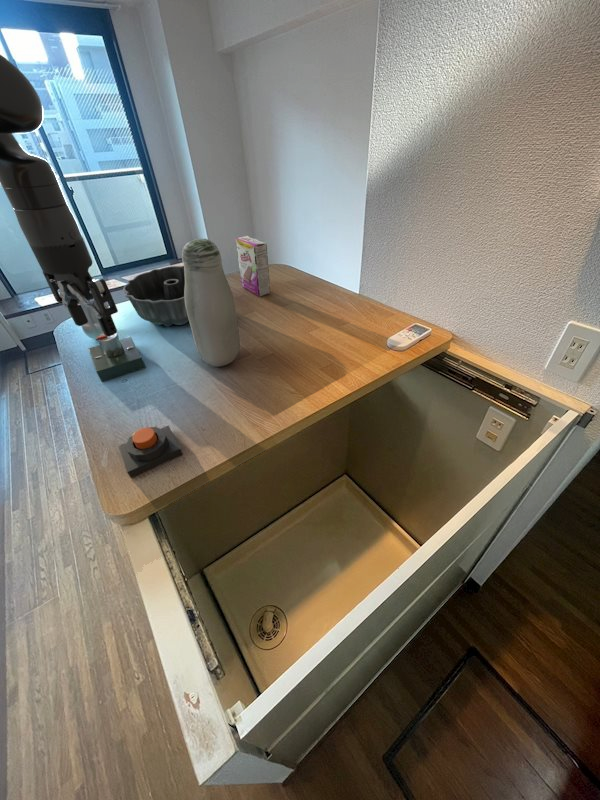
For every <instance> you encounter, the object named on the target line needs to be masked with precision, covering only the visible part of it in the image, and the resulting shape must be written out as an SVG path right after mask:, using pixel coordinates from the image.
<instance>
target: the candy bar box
mask: <svg viewBox="0 0 600 800" xmlns="http://www.w3.org/2000/svg"><path fill="white" fill-rule="evenodd" d="M235 247H236V252H237V259H238V266H239V275H240V282H241V288H243V289H245V291H246V290H247V291H248V292H250V293H252V294H254V295H255V296H257V297H259V298H262V297H264V296H266V295H270V294H271V285H270V283H271V282H270V271H269V270H270V269H269V258H268V245H267V243H266V242H264V241H262V240H259V239H257V238H254V237H251V236H250V235H244V236H240V237H236V238H235Z"/></svg>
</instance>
